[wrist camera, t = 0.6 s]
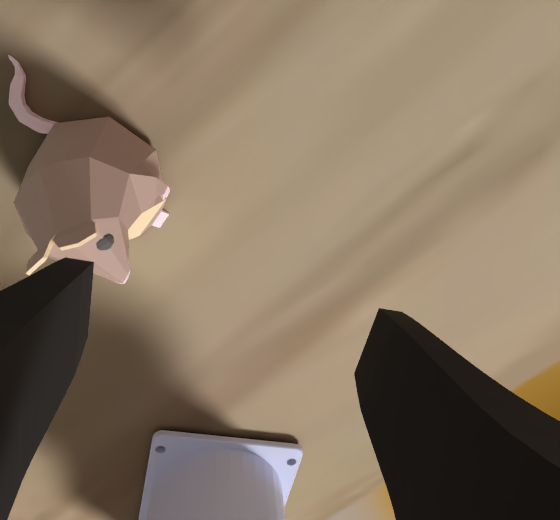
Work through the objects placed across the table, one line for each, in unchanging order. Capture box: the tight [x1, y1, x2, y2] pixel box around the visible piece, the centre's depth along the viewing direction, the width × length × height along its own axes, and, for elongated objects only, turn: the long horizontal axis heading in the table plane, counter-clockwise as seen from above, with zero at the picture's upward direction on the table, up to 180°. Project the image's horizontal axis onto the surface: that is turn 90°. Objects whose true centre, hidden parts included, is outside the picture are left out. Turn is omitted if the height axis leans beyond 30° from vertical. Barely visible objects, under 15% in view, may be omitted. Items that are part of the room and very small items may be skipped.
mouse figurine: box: [8, 54, 170, 284], centre depth 16 cm, size 5×8×7 cm, turn 28°
